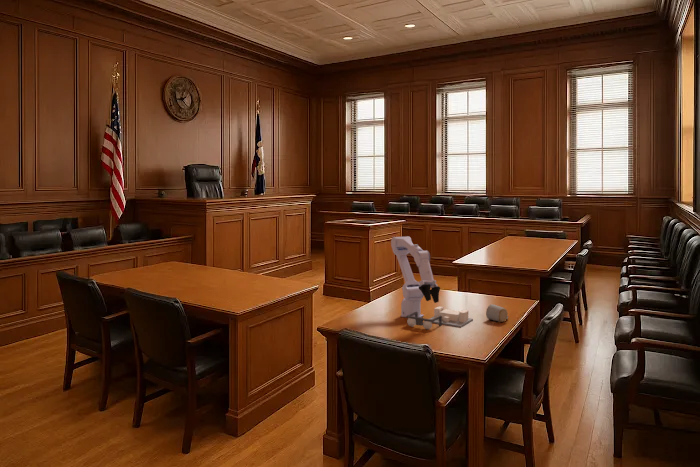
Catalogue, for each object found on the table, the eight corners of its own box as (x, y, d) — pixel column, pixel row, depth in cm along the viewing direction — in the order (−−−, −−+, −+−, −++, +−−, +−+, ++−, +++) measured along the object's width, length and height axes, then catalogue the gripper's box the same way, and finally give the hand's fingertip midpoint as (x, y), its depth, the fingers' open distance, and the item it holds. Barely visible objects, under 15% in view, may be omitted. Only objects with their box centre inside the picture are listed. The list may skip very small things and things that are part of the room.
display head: (460, 327, 241) (460, 316, 241) (426, 321, 252) (426, 310, 251) (473, 320, 253) (473, 309, 253) (439, 315, 264) (440, 304, 263)
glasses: (431, 330, 237) (432, 320, 236) (405, 325, 245) (405, 315, 245) (441, 325, 245) (441, 315, 245) (416, 320, 253) (416, 311, 253)
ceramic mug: (499, 323, 247) (500, 308, 246) (485, 320, 253) (485, 305, 252) (512, 320, 253) (512, 305, 253) (498, 317, 260) (498, 302, 259)
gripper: (425, 269, 238) (432, 296, 233) (440, 274, 249) (447, 300, 244) (413, 274, 242) (419, 301, 236) (428, 278, 253) (434, 304, 247)
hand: (432, 301), depth 240 cm, fingers open, 7 cm apart
